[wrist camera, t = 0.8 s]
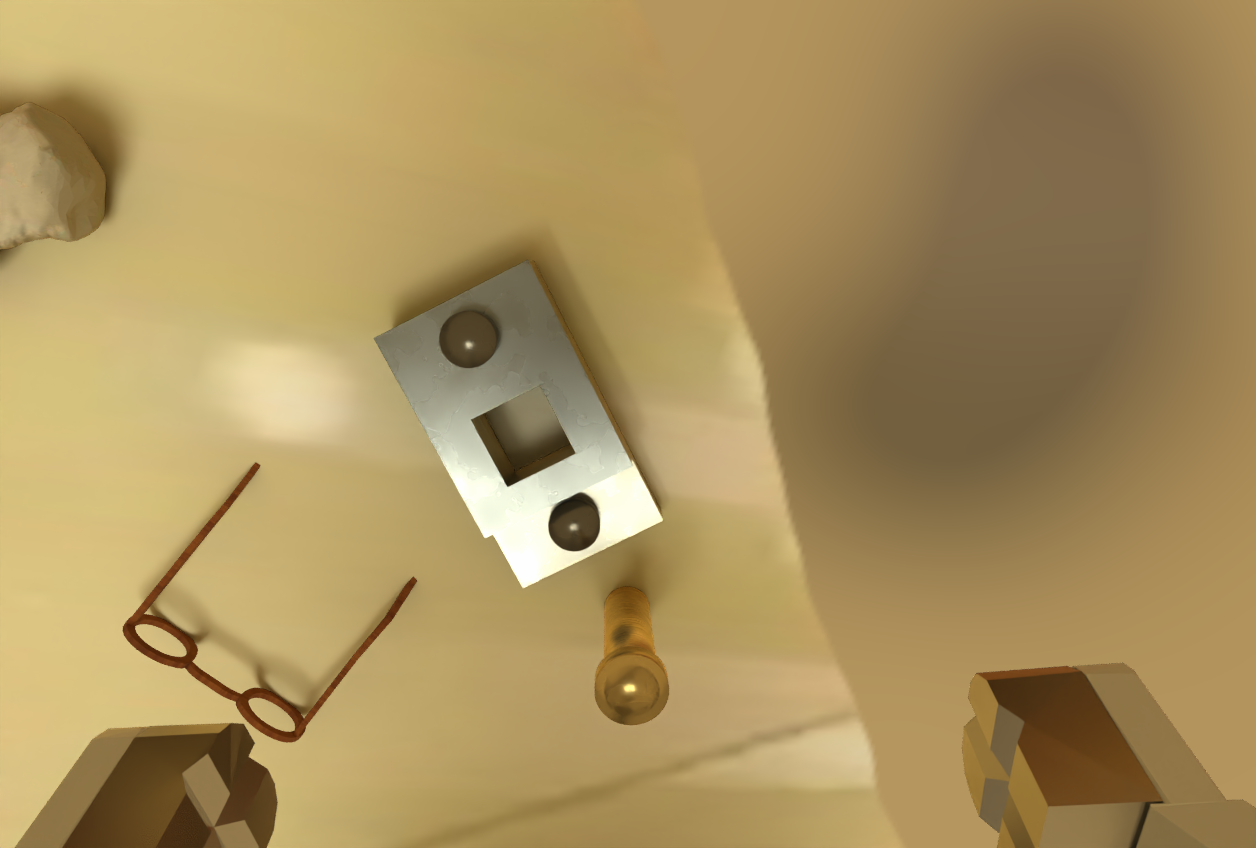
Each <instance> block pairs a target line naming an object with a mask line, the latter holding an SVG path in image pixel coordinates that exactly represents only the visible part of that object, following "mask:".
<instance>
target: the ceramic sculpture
mask: <svg viewBox="0 0 1256 848" xmlns="http://www.w3.org/2000/svg"><path fill="white" fill-rule="evenodd" d="M105 192H106V178H105V174H104V171H103V169H102V167H101V166H100V164H99V163H98V162H97V160H96V158H95V157H94V155H93V154H92V152H91V151H90V149H89V147H88V146H87V144H86V142H85V141H84V139H83V138H82V137H81V136H80V135H79V134H78V133H77V132H76V130H75V129H74V128H73V127H72V125H71V124H70V123H68V122H67V121H66V120H65V119H64V118H62V117H60V116H58V115H56V114H54V113H52V112H51V111H49V110H46V109H44V108H42V107H40V106H38V105H36V104H34V103H25V104H23V105H22V106H19V107H16V108H15V109H14V110H13V111H12V112H9V113H5V114H3V115H1V116H0V250H1V249H10V248H13V247H16V246H18V245H20V244H22V243H24V242H30V241H33V240H38V239H45V238H53V239H57V240H64V241H67V242H71V241H76V240H79V239H81V238H84V237H86V236H88V235H90V234H91V233H92V232H94V231H95V230H96V229H97V228H98V227H99V226H100V224H101V222H102V220H103V218H104V214H105V203H104V201H105Z"/></svg>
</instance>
